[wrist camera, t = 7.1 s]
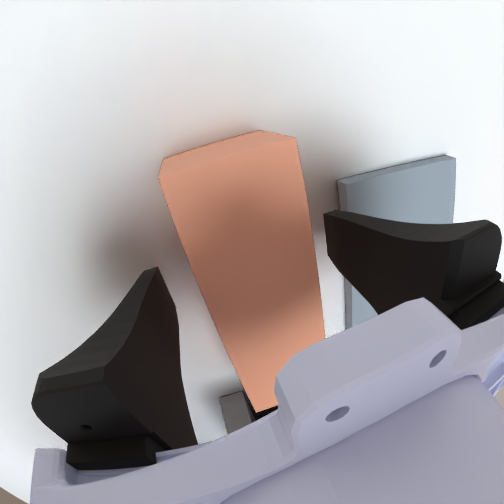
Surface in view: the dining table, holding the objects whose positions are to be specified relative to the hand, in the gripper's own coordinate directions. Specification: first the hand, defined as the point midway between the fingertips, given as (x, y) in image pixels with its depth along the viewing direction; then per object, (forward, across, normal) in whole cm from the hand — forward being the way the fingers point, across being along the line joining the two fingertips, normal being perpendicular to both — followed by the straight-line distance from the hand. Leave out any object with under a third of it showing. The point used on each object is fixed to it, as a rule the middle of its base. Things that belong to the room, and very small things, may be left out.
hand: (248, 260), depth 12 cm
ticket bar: (+2, 0, +1) cm, 2 cm away
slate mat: (+1, -9, +6) cm, 11 cm away
